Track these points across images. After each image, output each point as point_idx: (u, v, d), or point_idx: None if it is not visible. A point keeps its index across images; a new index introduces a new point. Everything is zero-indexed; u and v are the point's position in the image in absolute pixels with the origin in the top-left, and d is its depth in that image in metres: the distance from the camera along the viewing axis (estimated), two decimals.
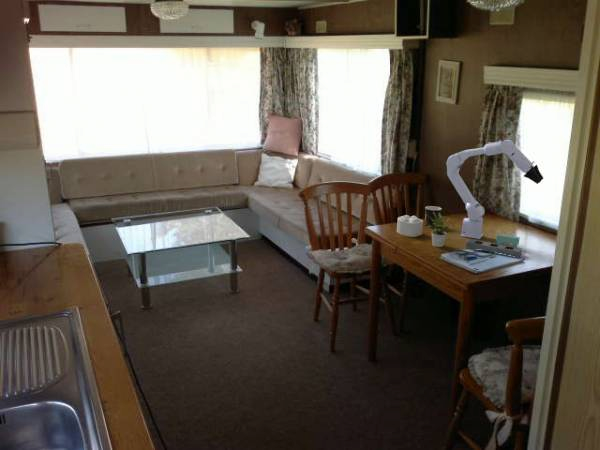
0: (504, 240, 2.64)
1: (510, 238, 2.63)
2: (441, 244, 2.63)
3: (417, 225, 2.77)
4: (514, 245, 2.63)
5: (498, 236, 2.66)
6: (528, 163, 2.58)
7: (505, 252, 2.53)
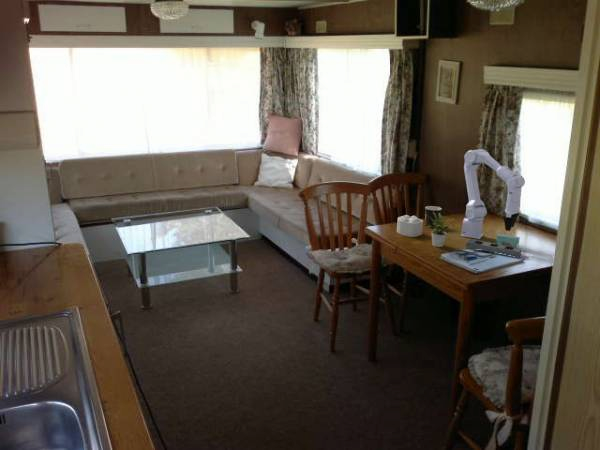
0: (504, 240, 2.64)
1: (510, 238, 2.63)
2: (441, 244, 2.63)
3: (417, 225, 2.77)
4: (514, 245, 2.63)
5: (498, 236, 2.66)
6: (515, 210, 2.58)
7: (505, 252, 2.53)
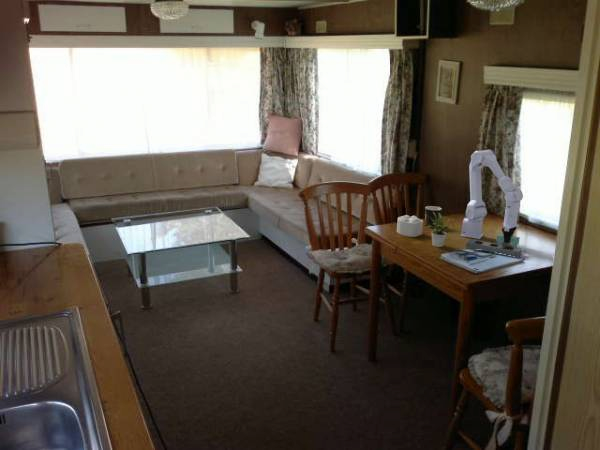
0: None
1: None
2: (441, 244, 2.63)
3: (417, 225, 2.77)
4: (514, 245, 2.63)
5: (498, 236, 2.66)
6: (513, 223, 2.60)
7: (505, 252, 2.53)
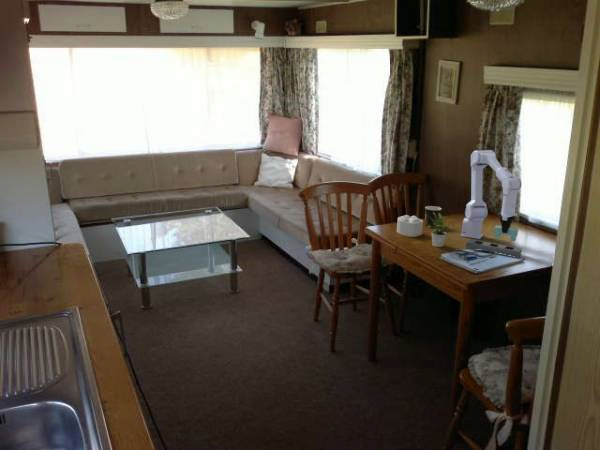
0: None
1: (508, 230, 2.55)
2: (441, 244, 2.63)
3: (417, 225, 2.77)
4: (512, 237, 2.54)
5: (496, 228, 2.57)
6: (511, 212, 2.52)
7: (505, 252, 2.53)
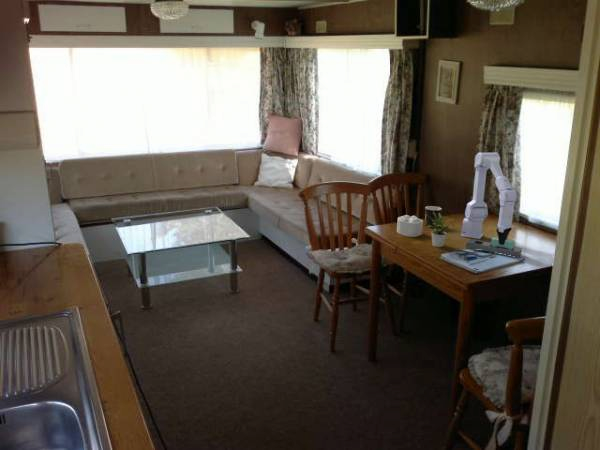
0: (499, 244, 2.55)
1: (505, 242, 2.54)
2: (441, 244, 2.63)
3: (417, 225, 2.77)
4: None
5: (493, 240, 2.56)
6: (508, 224, 2.50)
7: (505, 252, 2.53)
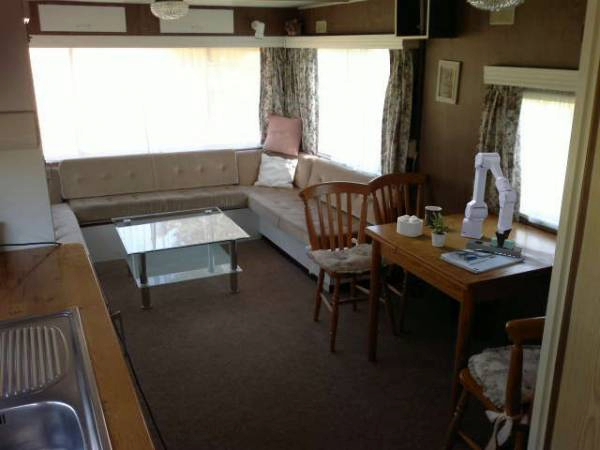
0: None
1: (505, 242, 2.54)
2: (441, 244, 2.63)
3: (417, 225, 2.77)
4: None
5: (493, 240, 2.56)
6: (508, 225, 2.51)
7: (505, 252, 2.53)
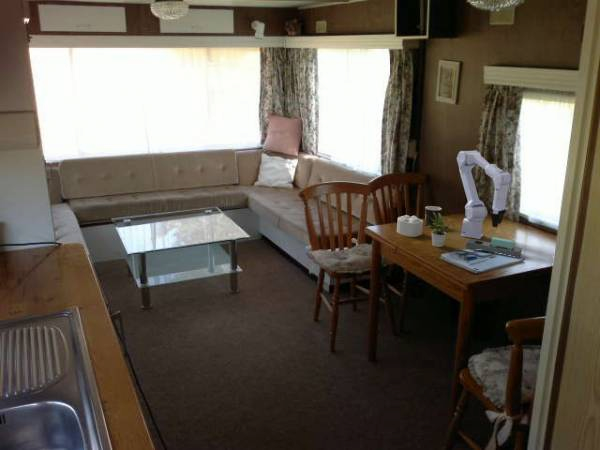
0: (499, 244, 2.55)
1: (505, 242, 2.54)
2: (441, 244, 2.63)
3: (417, 225, 2.77)
4: None
5: (493, 240, 2.56)
6: (502, 206, 2.61)
7: (505, 252, 2.53)
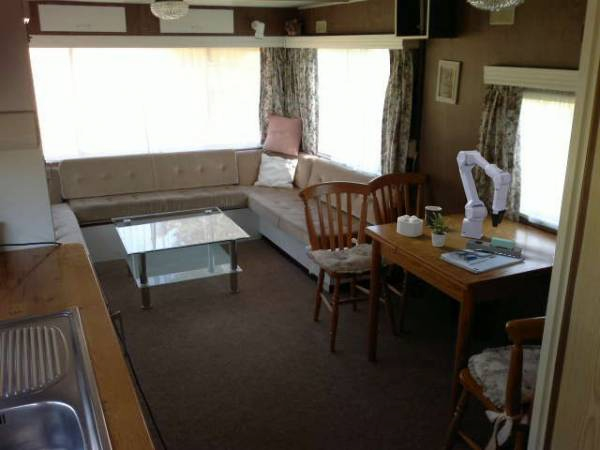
0: (499, 244, 2.55)
1: (505, 242, 2.54)
2: (441, 244, 2.63)
3: (417, 225, 2.77)
4: None
5: (493, 240, 2.56)
6: (502, 206, 2.61)
7: (505, 252, 2.53)
